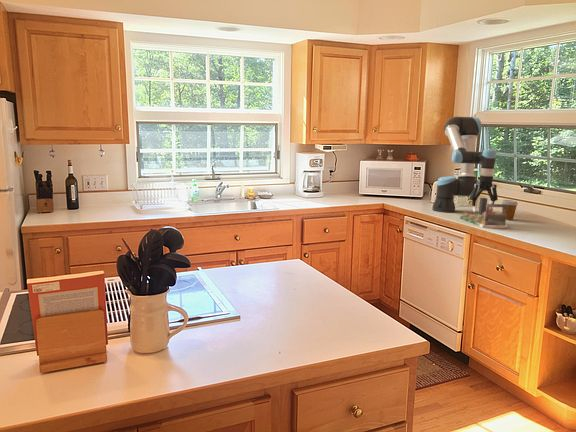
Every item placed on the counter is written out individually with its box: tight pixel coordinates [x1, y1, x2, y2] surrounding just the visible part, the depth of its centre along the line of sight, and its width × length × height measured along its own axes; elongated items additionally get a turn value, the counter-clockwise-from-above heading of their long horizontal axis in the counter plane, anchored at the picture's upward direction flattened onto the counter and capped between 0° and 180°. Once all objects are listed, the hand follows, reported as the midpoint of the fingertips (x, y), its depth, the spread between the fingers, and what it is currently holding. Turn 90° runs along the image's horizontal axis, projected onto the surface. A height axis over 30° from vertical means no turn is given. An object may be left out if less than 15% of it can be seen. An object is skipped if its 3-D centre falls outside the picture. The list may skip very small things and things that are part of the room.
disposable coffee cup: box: [501, 199, 519, 221], centre depth 306 cm, size 10×10×12 cm
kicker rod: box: [477, 197, 496, 220], centre depth 289 cm, size 11×6×13 cm, turn 9°
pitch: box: [459, 203, 508, 229], centre depth 291 cm, size 26×16×14 cm, turn 9°
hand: (482, 211), depth 293 cm, fingers open, 10 cm apart
